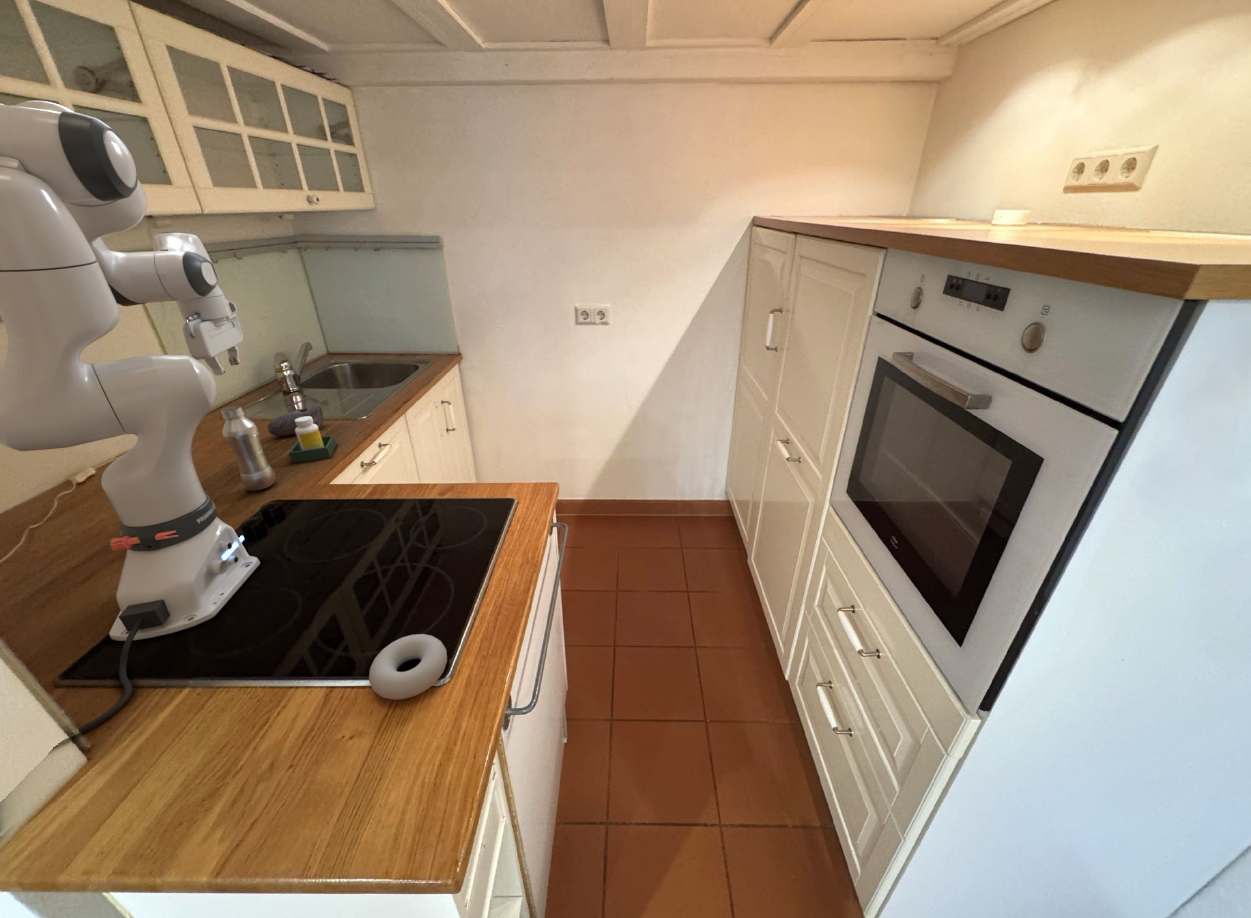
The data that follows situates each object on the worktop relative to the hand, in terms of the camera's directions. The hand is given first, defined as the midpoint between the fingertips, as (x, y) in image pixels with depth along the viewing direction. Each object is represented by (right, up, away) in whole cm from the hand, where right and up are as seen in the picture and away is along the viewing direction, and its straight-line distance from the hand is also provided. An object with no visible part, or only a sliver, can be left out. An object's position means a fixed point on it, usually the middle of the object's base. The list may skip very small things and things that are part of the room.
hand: (228, 369), depth 120 cm
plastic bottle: (+8, -28, 0) cm, 30 cm away
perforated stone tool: (-3, -14, +31) cm, 34 cm away
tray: (+10, -20, +17) cm, 28 cm away
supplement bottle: (+10, -20, +17) cm, 28 cm away
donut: (+66, -51, -51) cm, 98 cm away
